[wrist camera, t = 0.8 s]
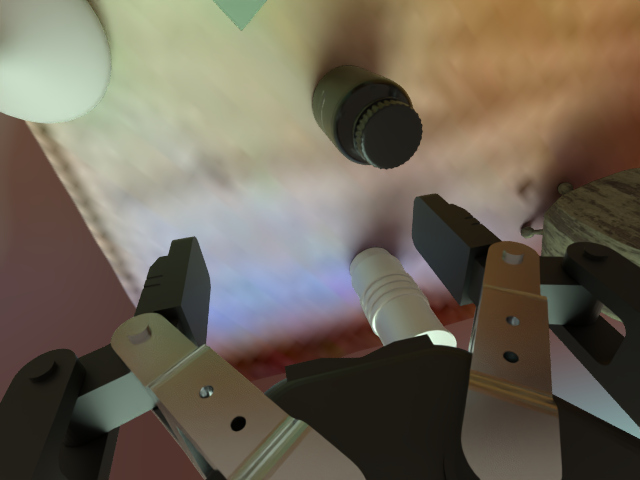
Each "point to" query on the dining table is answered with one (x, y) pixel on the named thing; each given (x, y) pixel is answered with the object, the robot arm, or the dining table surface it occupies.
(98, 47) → the flower in vase
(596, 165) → the dining table surface
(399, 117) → the supplement bottle
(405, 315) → the candle
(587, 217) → the tabletop clock
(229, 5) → the green
